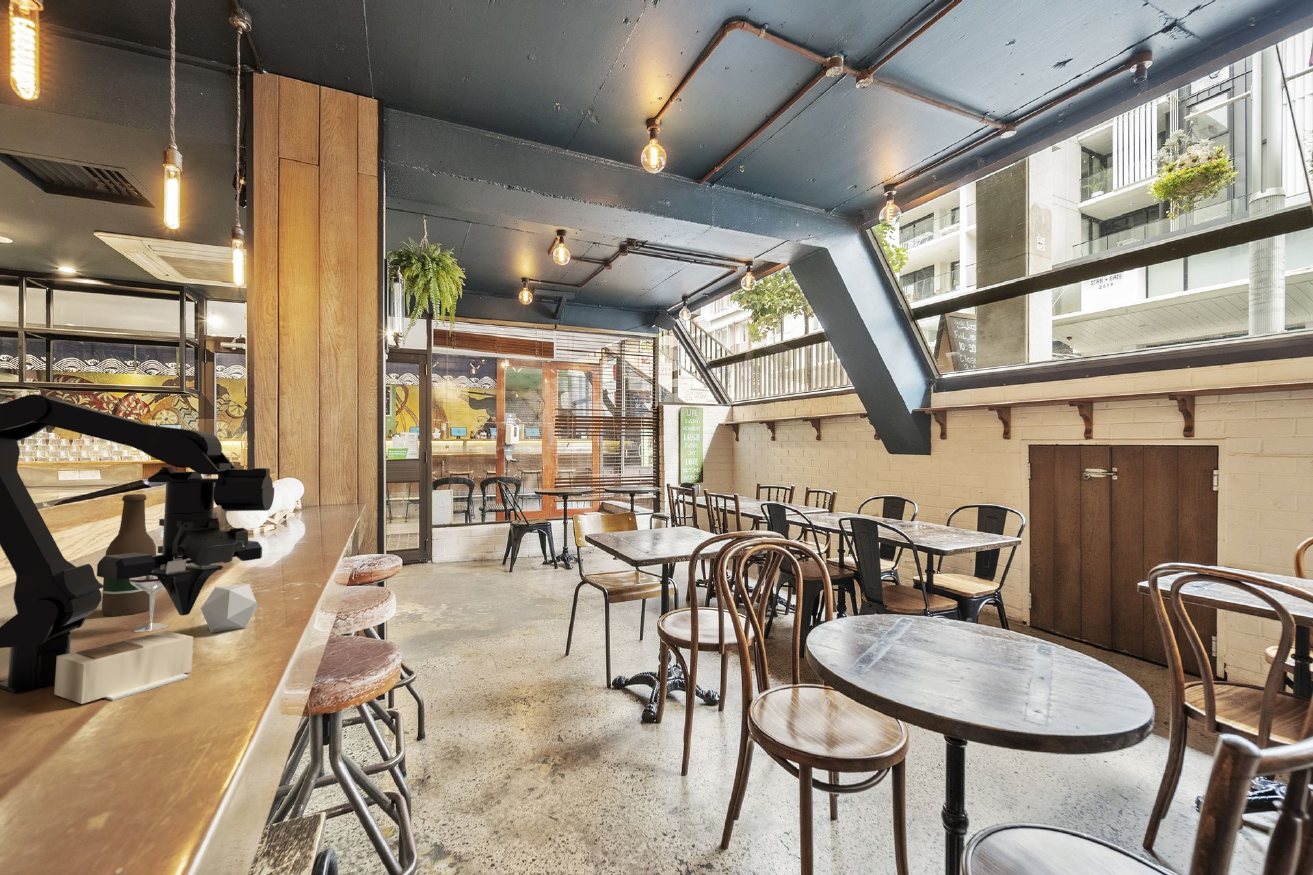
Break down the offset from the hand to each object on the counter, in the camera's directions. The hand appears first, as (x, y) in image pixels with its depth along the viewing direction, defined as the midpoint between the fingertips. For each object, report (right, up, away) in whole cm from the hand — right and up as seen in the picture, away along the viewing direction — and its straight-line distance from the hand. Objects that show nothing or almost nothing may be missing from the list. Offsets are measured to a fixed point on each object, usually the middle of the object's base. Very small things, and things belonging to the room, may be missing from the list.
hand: (184, 614), depth 83 cm
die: (-8, -9, +19) cm, 23 cm away
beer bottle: (-37, -9, +29) cm, 48 cm away
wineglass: (-23, -9, +19) cm, 31 cm away
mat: (-2, -8, -6) cm, 10 cm away
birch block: (0, -5, -1) cm, 5 cm away
